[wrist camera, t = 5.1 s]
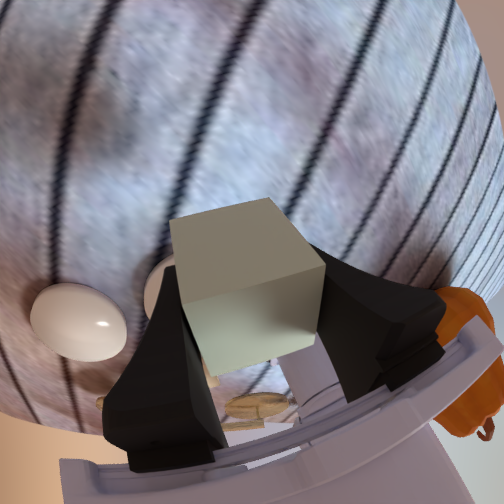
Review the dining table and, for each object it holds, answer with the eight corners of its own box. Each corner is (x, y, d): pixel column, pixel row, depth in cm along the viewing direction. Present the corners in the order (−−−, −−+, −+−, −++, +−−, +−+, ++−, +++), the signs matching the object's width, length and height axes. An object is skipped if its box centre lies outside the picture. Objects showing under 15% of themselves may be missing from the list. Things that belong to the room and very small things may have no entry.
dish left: (100, 271, 19) (98, 281, 18) (141, 343, 25) (141, 352, 24) (15, 295, 17) (12, 305, 16) (65, 357, 23) (64, 366, 22)
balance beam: (289, 388, 25) (294, 414, 23) (287, 409, 30) (291, 431, 27) (86, 394, 24) (82, 416, 22) (113, 415, 29) (110, 435, 26)
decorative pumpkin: (445, 314, 52) (514, 404, 29) (365, 373, 52) (429, 480, 29) (465, 244, 37) (572, 362, 14) (360, 323, 37) (467, 488, 14)
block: (269, 197, 12) (325, 264, 8) (272, 272, 15) (313, 344, 11) (168, 220, 11) (181, 304, 8) (190, 294, 14) (211, 376, 10)
